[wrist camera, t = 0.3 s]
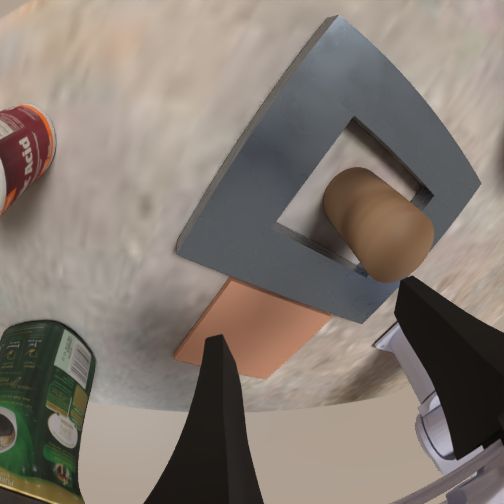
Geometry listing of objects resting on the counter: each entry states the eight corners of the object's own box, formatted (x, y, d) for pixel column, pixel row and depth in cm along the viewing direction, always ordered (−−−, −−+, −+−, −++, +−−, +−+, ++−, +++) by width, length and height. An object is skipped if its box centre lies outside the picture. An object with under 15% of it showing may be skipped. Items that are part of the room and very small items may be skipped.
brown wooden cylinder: (391, 188, 19) (444, 235, 14) (353, 236, 21) (395, 291, 16) (351, 154, 17) (407, 196, 12) (309, 209, 19) (349, 266, 14)
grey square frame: (469, 175, 19) (481, 183, 18) (355, 312, 26) (361, 324, 25) (327, 17, 12) (339, 14, 11) (177, 240, 18) (176, 254, 17)
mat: (330, 313, 25) (331, 317, 25) (264, 375, 29) (265, 379, 29) (230, 276, 21) (231, 280, 20) (173, 354, 25) (173, 359, 25)
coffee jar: (39, 372, 24) (20, 530, 9) (-5, 322, 20) (-50, 503, 5) (110, 366, 25) (107, 557, 10) (66, 309, 20) (31, 548, 5)
